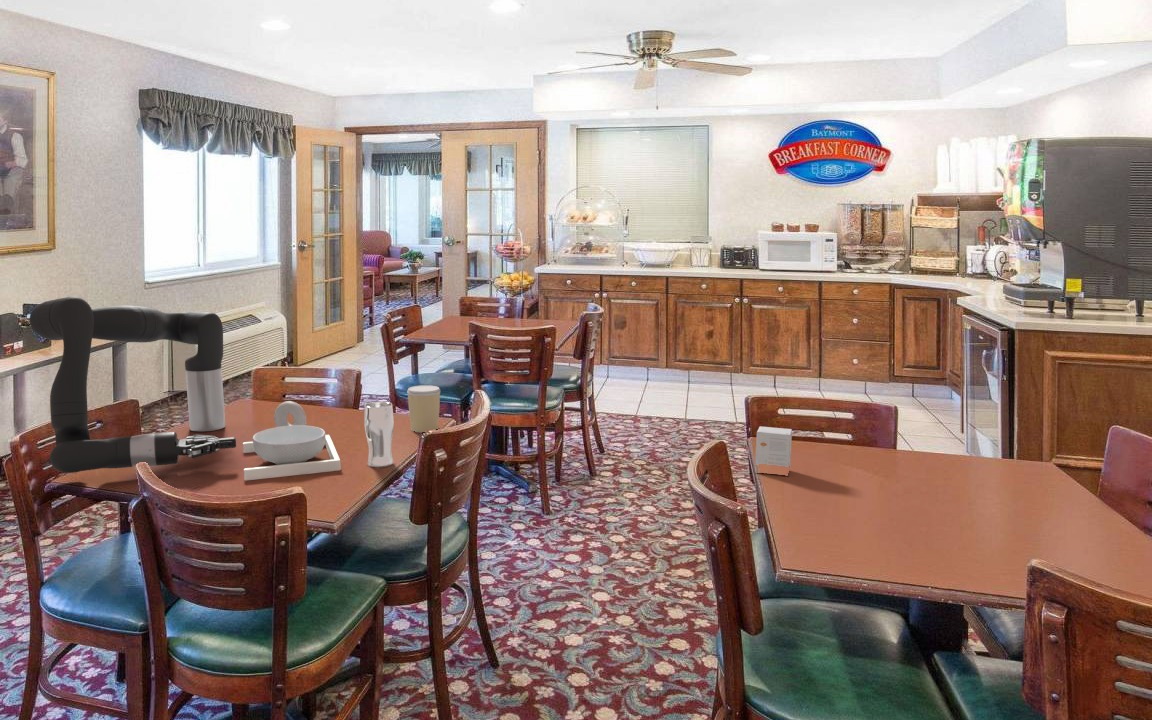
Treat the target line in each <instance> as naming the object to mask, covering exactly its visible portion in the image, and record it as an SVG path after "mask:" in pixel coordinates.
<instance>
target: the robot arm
mask: <svg viewBox="0 0 1152 720" xmlns="http://www.w3.org/2000/svg"><path fill="white" fill-rule="evenodd" d="M30 312H31V313H30V316H29V320H28V321H29V324H30V327H31V329H32V330H33V332H34V333H36V334H37V335H39V337H42V338H43V339H46V340H50V341H63V343H62V344H63V349H62V350H63V351H62V358H61V362H60V364H59V367H58V369H57V373H56V375H55V377H54V379H53V383H52V385H51V389H50V396H49V407H50V409H49V410H50V412H49V413H50V423H51V427H52V429H53V431H54V435H55V446H54V447H53V448H52V450H51V452H50V454H49V462H50V465H51V466H52V467H53V468H54V469H55V470H56V471H58V472H60V473H64V474H65V473H67V474H75V473H80V472H84V471H91V470H92V471H93V470H99V469H125V468H135V465H136V464H137V463H139V462H146V463H148V465H149V466H148V467H155V466H156V467H157V466H166V465H168V466H169V465H175V464H178V463H179V456H184V457H185V456H186V457H188V458H192V459H197V458H200V457H203V456H207V455H210V454H211V455H212V454H214V453H216V452H217V451H219V450H223V449H224V450H225V449H232V448H233V449H234V448H236V447H237V439H236V437H235V436H232V437H222V438H219V437H216V435H207V434H206V435H205V434H199V433H198V434H197V433H196V434H193V435H190V436H186V437H185V438H181V439H178V434H177V432H176V431H167V432H155V433H143V434H142V433H141V434H139V435H132V436H119V437H111V438H110V437H109V438H105V439H91V437H90V436H91V435H90V430H89V425H88V424H89V422H88V420H89V419H88V418H89V417H88V416H89V415H88V413H89V412H88V409H89V408H88V395H87V394H88V393H87V391H88V389H87V388H88V384H87V383H88V373H89V372H88V371H89V365H90V357H91V349H92V341H93V340H92V339H94V340H95V339H96V340H101V341H102V340H104V341H113V342H124V343H153V342H156V341H161V340H164V341H166V340H167V341H173V342H178V343H183V344H188V345H195V346H196V345H197V351H196V354H195V355H193V356H191V357H188V358H186V360H185V361H184V369H185V381H186V383H185V384H186V393H187V394H186V395H187V410H188V424H189V430H190V431H192V432H200V433H201V432H212V431H213V432H214V431H218V430H221V429H224V428H225V427H226V418H225V417H226V415H225V400H224V384H223V371H222V362H223V358H224V329H223V328H224V325H223V323H222V319H221V317H220V316H219V315H218V314H216V313H214V312H210V311H209V312H208V311H180V312H179V311H178V312H165V311H164V312H163V311H160V310H159V309H156V308H152V307H147V306H139V305H130V304H129V305H111V306H110V305H109V306H108V305H107V306H99V307H92V306H91V305H90V304H89V303H88V302H87V301H86V300H85V299H83V298H82V297H79V296H67V297H59V298H56V299H51V300H46V301H44V302H42V303H39V304H38V305H36V306H35V307H34V308H33V309H32V310H31V311H30Z"/></svg>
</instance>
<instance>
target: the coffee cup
mask: <svg viewBox="0 0 1152 720" xmlns="http://www.w3.org/2000/svg"><path fill="white" fill-rule="evenodd" d="M406 394H407V403H408V413H409V422H410V423H409V424H410V431H412V432H414V431H415V432H414V433H422V432H425V431H429V430H433V429H438V430H439V422H440V404H441V403H440V400H441V397H440V396H441V389H440V387H439V386H437V385H428V384H427V385H425V384H424V385H413V386H410V387H408V388H407V391H406ZM422 434H423V433H422Z"/></svg>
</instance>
